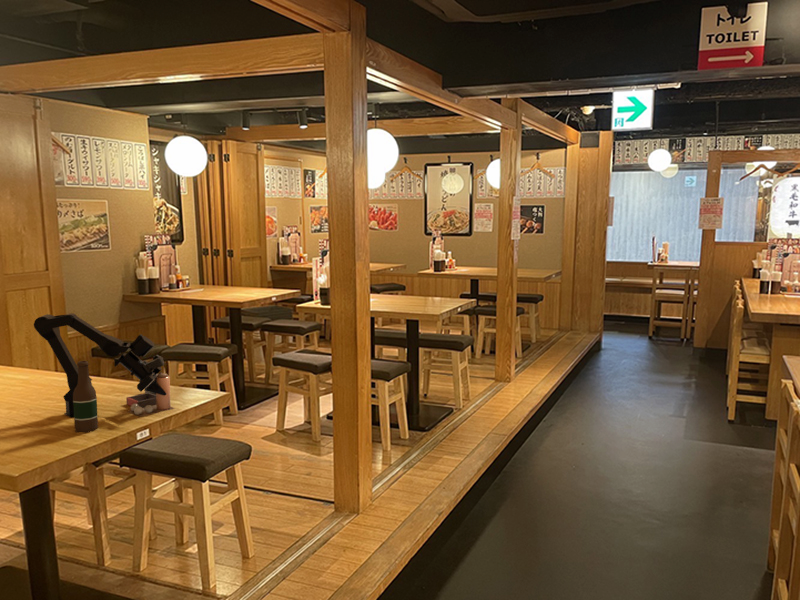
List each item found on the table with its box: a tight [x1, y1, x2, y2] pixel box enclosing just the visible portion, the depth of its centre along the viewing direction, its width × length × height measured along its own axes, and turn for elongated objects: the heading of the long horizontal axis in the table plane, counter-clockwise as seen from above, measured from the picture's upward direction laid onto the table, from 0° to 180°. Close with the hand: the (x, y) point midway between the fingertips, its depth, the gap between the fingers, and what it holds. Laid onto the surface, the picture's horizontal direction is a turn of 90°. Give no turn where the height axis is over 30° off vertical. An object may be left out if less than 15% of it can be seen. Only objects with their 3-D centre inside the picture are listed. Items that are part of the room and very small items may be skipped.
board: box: [126, 405, 176, 418], centre depth 238 cm, size 14×10×1 cm
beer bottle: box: [73, 360, 99, 433], centre depth 216 cm, size 8×8×24 cm
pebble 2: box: [134, 406, 143, 416], centre depth 232 cm, size 3×3×3 cm
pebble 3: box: [144, 405, 153, 413], centre depth 234 cm, size 3×3×3 cm
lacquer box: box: [125, 392, 156, 408], centre depth 245 cm, size 9×9×4 cm
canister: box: [156, 372, 172, 410], centre depth 239 cm, size 5×5×13 cm
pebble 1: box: [130, 404, 139, 411], centre depth 235 cm, size 3×3×3 cm
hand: (166, 392), depth 239 cm, fingers closed on canister, 5 cm apart
